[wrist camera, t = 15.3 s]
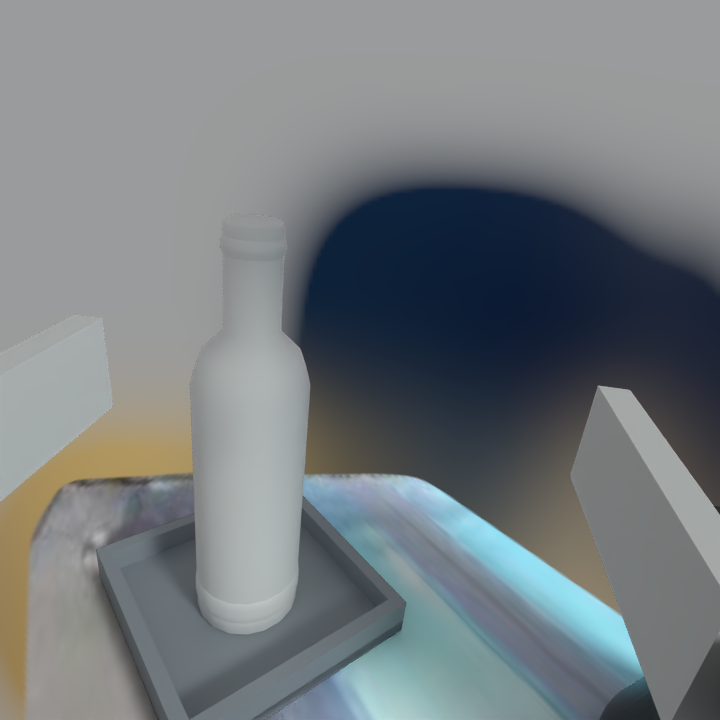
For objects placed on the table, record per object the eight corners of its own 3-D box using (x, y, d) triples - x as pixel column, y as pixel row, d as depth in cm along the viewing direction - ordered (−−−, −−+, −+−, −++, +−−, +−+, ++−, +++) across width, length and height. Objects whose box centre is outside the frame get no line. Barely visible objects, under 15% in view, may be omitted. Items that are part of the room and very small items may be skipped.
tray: (285, 502, 55) (287, 479, 53) (401, 629, 42) (406, 602, 41) (99, 576, 44) (96, 549, 43) (181, 775, 31) (179, 744, 30)
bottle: (175, 614, 40) (151, 216, 28) (231, 546, 47) (231, 202, 35) (268, 653, 38) (285, 240, 26) (312, 575, 45) (342, 220, 33)
